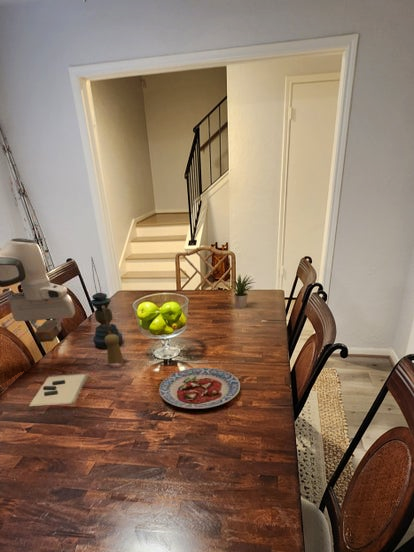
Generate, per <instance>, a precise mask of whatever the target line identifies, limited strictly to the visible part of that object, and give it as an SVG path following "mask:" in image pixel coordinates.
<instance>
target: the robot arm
mask: <svg viewBox="0 0 414 552" xmlns="http://www.w3.org/2000/svg"><path fill="white" fill-rule="evenodd" d="M19 283H20V285H21V289H22V291H20V292H12V293H11V292H10V294H9V295H8V296H7V300H8V303H9V305H10V309H11V314H12V318H13V320H14V321H16V322H30V325H32V326H33V327H34V328H35V331H37V330H38V329H39V328H40V327H41V325H40V324H38V321H46V320H56V322H58V323H57V325H55V326H54V327H55V331H60V330H61V327H60V324H61V325H62V320H63V319H72V318H73V317H75V315H76V308H75V305H74V302H73V300H72V297H71V296H70V295H69V294H68V288H67V287H66V286H65V285H61V284H56V283H52V282H51V280H50V278H49V276H48V274H47V265H46V262H45V258H44V255H43V253H42V249H41V247H40V246H39V244H38V243H37V242H36V241H34V240H33V239H30V238H29V239H28V238H20V237H19V238H12V239H10V241H8V243H7V244H5V245H4V246H3V247H1V248H0V288H7V287H10V286H13V285H17V284H19ZM61 331H62V330H61ZM61 331H60V332H61Z"/></svg>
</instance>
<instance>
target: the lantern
mask: <svg viewBox="0 0 414 552" xmlns="http://www.w3.org/2000/svg"><path fill="white" fill-rule="evenodd" d="M90 259H91V268H92V269H91V270H94V271H95V274H96V278H97V281H98V285H99V291H100V292H98V291H97V285H96V282H95V274H94V272H92V278H93V284H94V289H95V293H94V294H93V295H91V297H92V300H90V304H91V305H92V307H94V308H95V311H94V317H95V320H96V322H97V323H99V325H97V326H96V327H95V332H94V336H93V343H94V345H95V346H96V348H98V349H100V350H101V349H102V350H107V344H106V343H105V341H104V340H105V337H106V336H107V335H110V334H115V335H117V336H118V337H119V343H118V344H119V346H120V345H122V343H123V334H122V333H121V332H119V329H118V328H117V325H116V324H114V323H112V320H113V317H114V316H113V312H112V310H111V309H110V308H109V305H110V304H111V301H112V299H111V298H109V297H108V295H107V293H104V292H102V289H101V288H102V287H101V284H100V279H99V276H98V273H97V269H96V265H95V262H94V258H93V256H91V257H90Z"/></svg>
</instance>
